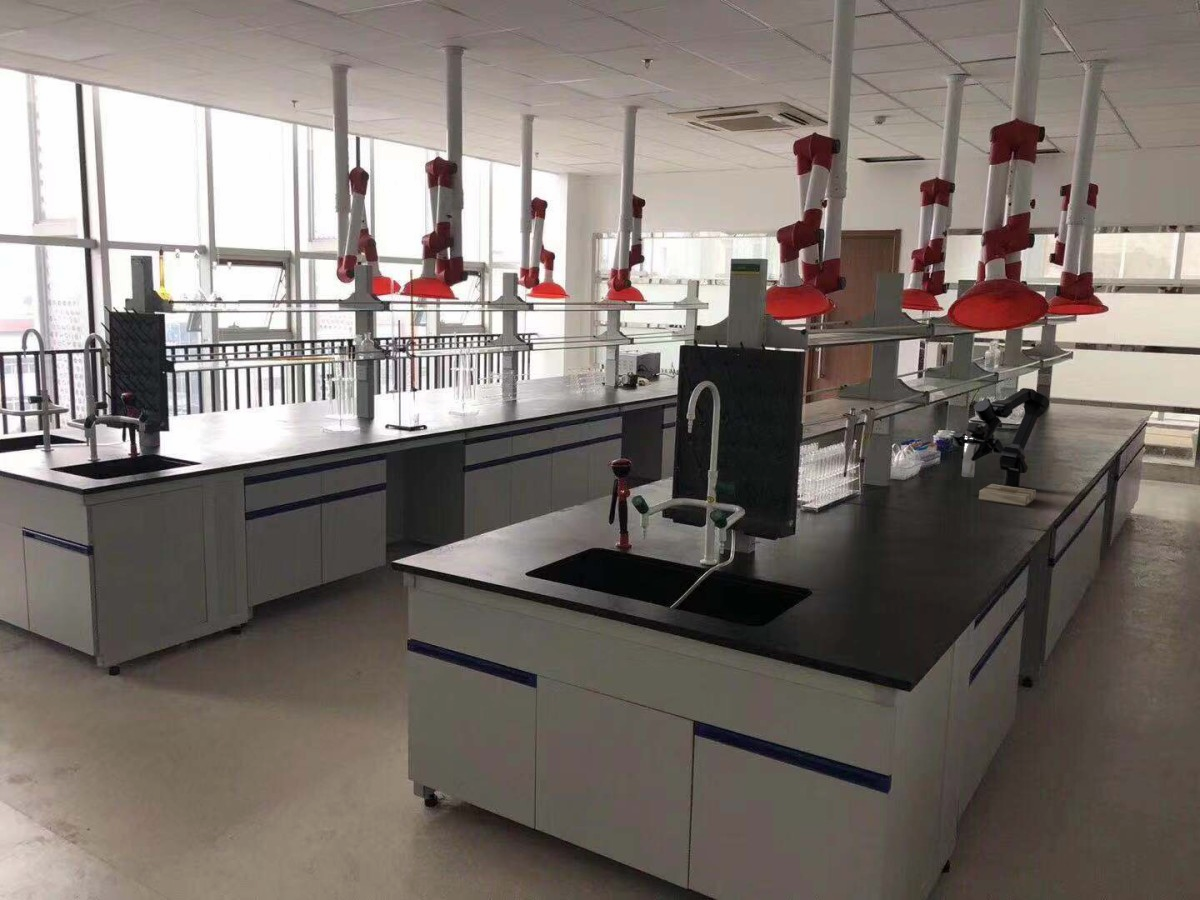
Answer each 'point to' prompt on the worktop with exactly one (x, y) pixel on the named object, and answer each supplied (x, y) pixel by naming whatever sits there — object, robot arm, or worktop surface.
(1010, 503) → the socket block
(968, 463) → the steel roller
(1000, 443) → the robot arm
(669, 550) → the worktop surface
